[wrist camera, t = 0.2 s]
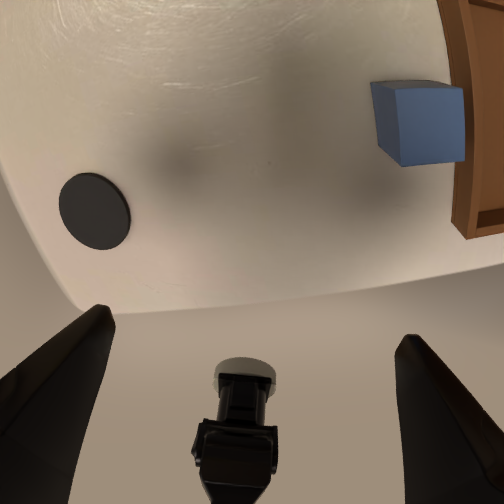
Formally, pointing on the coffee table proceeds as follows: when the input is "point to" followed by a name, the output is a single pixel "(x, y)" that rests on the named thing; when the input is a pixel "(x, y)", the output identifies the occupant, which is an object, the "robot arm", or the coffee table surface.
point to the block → (420, 121)
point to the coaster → (94, 211)
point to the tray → (478, 112)
